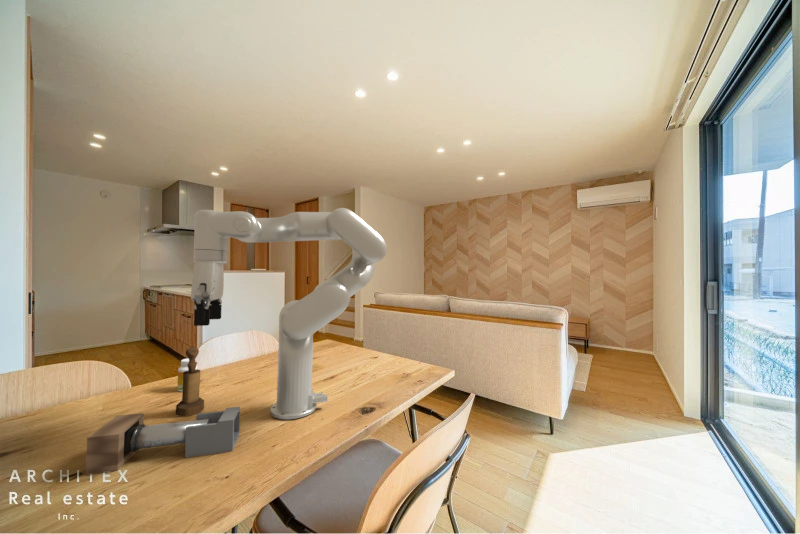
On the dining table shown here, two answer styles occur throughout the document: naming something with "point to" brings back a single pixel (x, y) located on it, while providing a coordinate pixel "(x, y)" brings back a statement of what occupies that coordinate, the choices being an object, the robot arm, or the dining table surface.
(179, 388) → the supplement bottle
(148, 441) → the slip tube
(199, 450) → the sleeve
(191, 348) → the brown wooden upright piece
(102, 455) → the socket block
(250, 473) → the dining table surface
